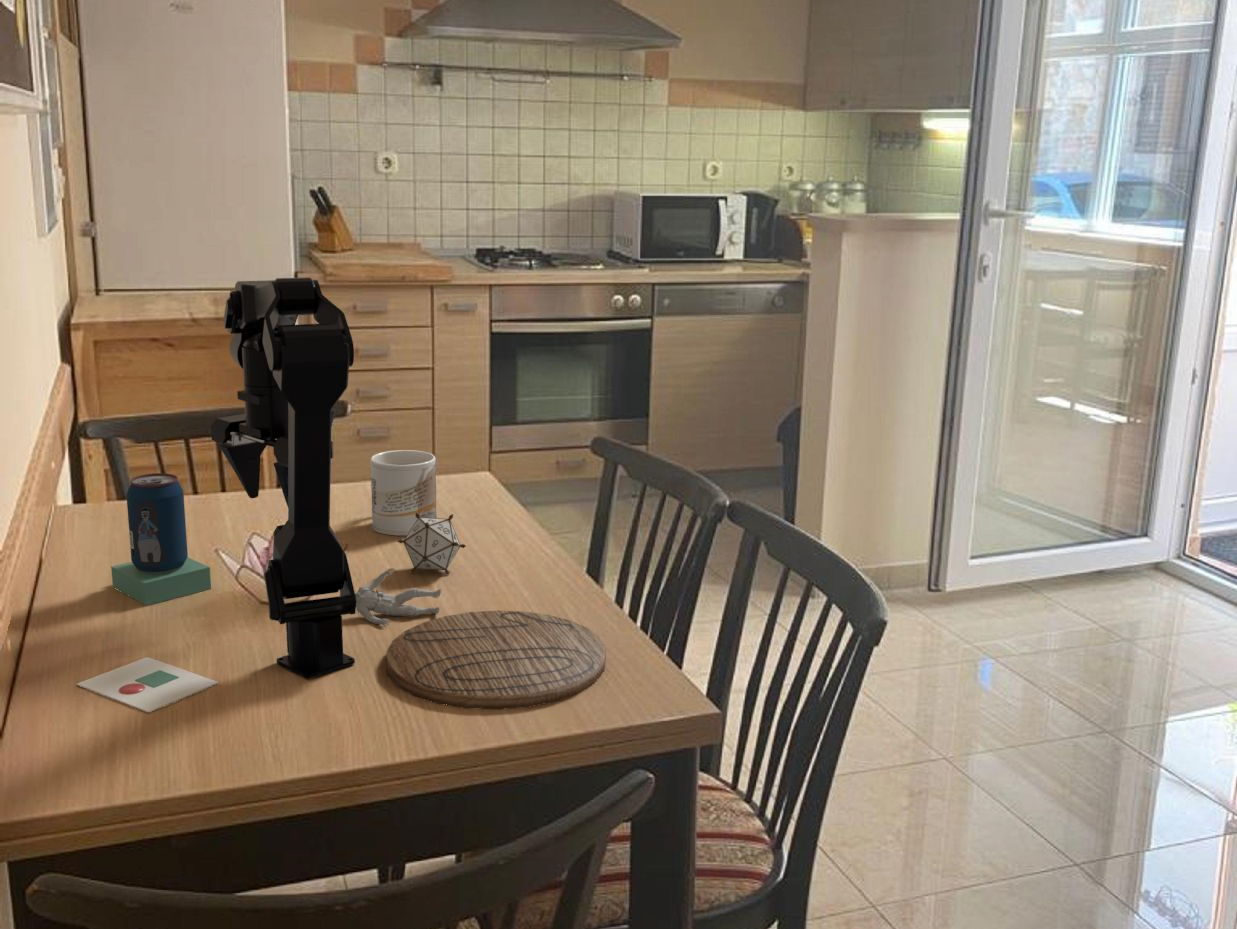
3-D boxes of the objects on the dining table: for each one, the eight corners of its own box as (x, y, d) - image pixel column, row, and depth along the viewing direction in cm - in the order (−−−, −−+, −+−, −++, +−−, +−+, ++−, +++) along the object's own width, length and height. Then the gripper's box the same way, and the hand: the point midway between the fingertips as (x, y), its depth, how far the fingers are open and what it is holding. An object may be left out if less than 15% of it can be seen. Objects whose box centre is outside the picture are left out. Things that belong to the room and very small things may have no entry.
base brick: (211, 588, 165) (209, 567, 165) (146, 605, 159) (144, 583, 158) (172, 570, 172) (170, 549, 171) (108, 585, 166) (106, 564, 165)
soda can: (181, 555, 169) (175, 469, 166) (194, 570, 163) (188, 481, 160) (127, 563, 165) (120, 475, 162) (138, 579, 160) (131, 488, 157)
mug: (356, 531, 191) (354, 461, 188) (392, 510, 202) (391, 444, 199) (419, 539, 188) (418, 467, 185) (452, 517, 199) (451, 450, 197)
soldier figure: (438, 632, 155) (344, 612, 151) (425, 646, 159) (332, 628, 154) (443, 576, 159) (351, 555, 155) (430, 591, 163) (340, 572, 158)
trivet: (369, 638, 151) (368, 623, 151) (566, 615, 160) (566, 601, 159) (411, 726, 128) (410, 709, 128) (638, 694, 137) (638, 678, 137)
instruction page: (218, 683, 137) (218, 681, 136) (148, 713, 129) (148, 710, 129) (147, 658, 143) (147, 656, 143) (76, 685, 135) (76, 682, 135)
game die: (444, 592, 177) (484, 534, 177) (429, 591, 168) (472, 530, 169) (393, 556, 178) (434, 498, 178) (377, 553, 169) (419, 492, 170)
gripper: (367, 385, 154) (371, 507, 158) (282, 365, 166) (287, 479, 170) (289, 397, 146) (295, 525, 150) (205, 375, 158) (212, 494, 162)
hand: (273, 505), depth 158 cm, fingers open, 9 cm apart
